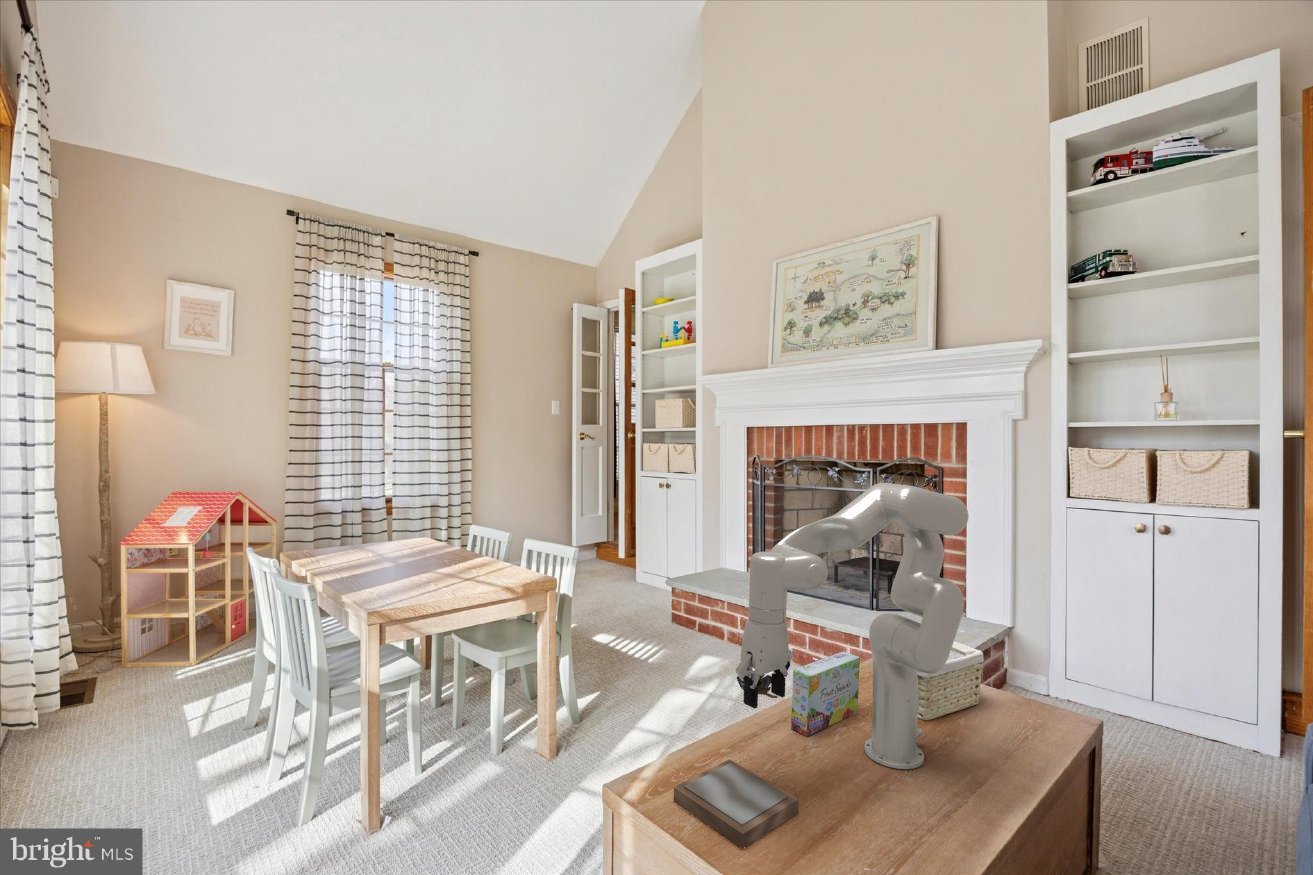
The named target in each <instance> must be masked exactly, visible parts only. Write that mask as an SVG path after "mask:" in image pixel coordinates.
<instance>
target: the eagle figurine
mask: <svg viewBox="0 0 1313 875" xmlns="http://www.w3.org/2000/svg"><path fill="white" fill-rule="evenodd" d="M753 677H754V675H753V674H751V675H750V679H751V680H752V679H753ZM771 678H772V675H769V674H763V675H760V677H759V680H758V683H757V685H756V688H758V696H759V695H763V696H765V697H766V696H767V697H768V698H771V699H778V697H779V696H778V695H775V694H771V693H768V692H771ZM736 681H737V683H738V685H739V687H740V688H741V690H742V691H744V685H743V684H742V682H741V681H740V679H739V677H738V675H737V676H736Z"/></svg>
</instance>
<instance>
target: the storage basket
mask: <svg viewBox="0 0 1313 875" xmlns="http://www.w3.org/2000/svg"><path fill="white" fill-rule="evenodd" d="M951 651H952V652H955V653H957V654H959V655H963V656H961V657H957V658H952V657H948V659H947V661H946V663H945V665H944V666H943V667H942V669H940V670H939V671H938V672H936V673H933V674H927V673H923V672H920V671H918V670H916V672H917V676H918V713H917V719H920V720H923V721H929V720H933V719H936V718H939V717H942V716H946V715H947V714H952V713H954V712H957V711H961V710H964V709H967V708H969V707H973V706H975V705H979V703H980V696H981V695H980V694H981V683H982V674H983V668H984V660H985V658H984V653H983V651H982V650H980V649H976V648H973V647H971V646H968V645H967V644H964V643H960V642H957V641H955V640H954V642H953V645H952V648H951Z"/></svg>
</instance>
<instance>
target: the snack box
mask: <svg viewBox="0 0 1313 875" xmlns="http://www.w3.org/2000/svg"><path fill="white" fill-rule="evenodd" d="M860 661H861V657H860V656H857V655H854V654H852V653H849V652H847V651H841V652H838V653H835V654H832V655H829V656H827V657H824V658H821V659H819V660H816V661H813V662H811V663H808V664H805V665H802V666H800V667H797V668H794V669H793V672H792V673H793V674H792V694H791V695H792V697H791V698H792V699H791V720H790V721H791V722H790V723H791V725H790V729H791V730H794V731H796V732H797V733H799V734H801V735H803V736H804V737H809V736H812V735H813V734H816V733H818V732H821V731H822V730H824V729H826V728H828V727H831V726H833V725H835V724H837V723H839V722H841V721H843V719H844V720H845V719H848V718H849V717H850V718H851V717H852V716H854V715H856V714H858V712H859V689H860V687H859V685H860V663H861V662H860Z"/></svg>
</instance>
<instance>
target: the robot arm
mask: <svg viewBox="0 0 1313 875" xmlns="http://www.w3.org/2000/svg"><path fill="white" fill-rule="evenodd" d="M968 522H969V510H968V508H967V506H966V504H965V503H964V502H963V501H962V500H961V499H959V498H958V497H956V496H952V495H949V494H944V493H940V492H936V491H932V490H930V489H929V490H928V489H925V488H921V487H918V486H914V485H908V484H907V485H906V484H899V483H891V482H879V483H875V484H873V485H872V486H869V488H868V489H866V490H865V491H864V492H862V493H861V494H860V495H859V496H857V497H856V498H854V500H852V501H851V502H849V503H847V505H845V506H844V507H842V509H840V510H839V511H838V512H836V513H834V514H833V515H830V516H828V517H824V518H822V519H819V520H816V521H814V522H811V523H808V524H806V525H804V526H801V527H799V528H797V529H795V530H794V531H792V532H790V533H789V534H788V535H786V536H785V537H784V538H782V539H781V540H780V541H778V542H777V543H776V544H775V545H773V547H772V548H771V549H770V550H769V551H759V552H758V551H757V552H754V553H752V555H751V557H750V563H749V586H748V587H749V590H748V592H749V593H748V617H747V618H748V619H747V620H746V621H745V625H744V630H743V633H742V642H741V650H740V661H739V662H740V663H739V664H738V665H737V667H736V668H735V673H736V675H737V676H738V677H739V679H740V681H741V682H742V684H743V685H744V690H743V704H744V705H746V706H747V707H751V708H752V709H754V710H755V709H758V704H759V703H758V702H759V700H758V699H759V695H758V688H756V685H757V683H758V680H759V677H760V675H763V674H765V675H767V674H768V673H771V677H772V678H771V684H770V687H771V688H770V692H771V693H772V695H775V696H778V697H780V698H784V697H785V696H786V678H787V677H788V676H789V675H788V673H789V672H788V671H789V668H790V666H791V662H792V660H793V657H794V655H795V654H794V651H792V650H791V649H790V648H789V633H788V632H789V630H788V622H787V604H788V603H787V602H788V590H797V591H799V590H800V591H813V590H817V589H819V588H820V587H822V586H823V585H824V584H825V583H826V581H827V579H828V575H829V570H828V566H827V564H826V562H825V561H824V560H823V559H822V558H821V557H820V556H818V555H819V554H822V553H826V552H827V553H828V552H835V551H839V552H840V551H848V550H854V549H857V548H860V547H862V546H864V545H865V544H866V543H867V542H869V540H871V539H872V538H873V537H874V536H876V535H877V534H878V533H879V532H881V531H882V530H883V529H885V527H887V526H888V525H889V524H898V525H900V527H901V528H902V532H903V534H904V541H905V543H904V549H903V554H902V555H901V556H902V557H901V559H900V562H899V565H898V568H897V571H896V574H895V576H894V580H893V582H892V586H891V591H890V599H891V601H892V603H893V604H894V605H895V606H896V607H897V608H899V609H900V610H903V611H904V612H907V613H910V614H913V615H915V616H918V617H920V618H921V620H920V622H918V621H916V620H913V619H911V618H908V617H906V616H903V615H900V614H896V613H890V612H889V613H888V612H887V613H882V614H880V615H878V616H876V617H875V618H874V619H873V620H872V622H871V624H870V627H869V630H868V631H869V632H868V634H869V635H868V639H869V646H870V649H871V650H870V651H871V656H872V703H871V704H872V710H871V712H872V713H871V714H872V715H871V737H870V738H868V739H866V741H865V742H864V752H865V754H866V755H867V756H868V757H869V758H870V759H871V760H873V762H875V763H878V764H880V765H883V766H885V767H888V768H892V769H898V770H913V769H916V768H919V767H920V766H922V765H924V762H925V755H924V752H923V750H922V749H921V748H920V747H919V746H918V744H917V743H918V739H919V738H920V737H921V736H923V735H924V731H923V729H922V728H921V727H918V718H917V713H918V676H917V672H916V670H918V671H920V672H923V673H927V674H933V673H936V672H938V671H939V670H940V669H942V667H943V666H944V665H945V663H946V661H947V659H948V657H949V656H950V653H951V651H952V650H951V648H952V645H953V642H954V641H955V638H956V636H957V632H958V630H959V627H960V623H961V621H962V618H963V614H964V608H965V599H964V594H963V592H962V590H961V588H960V587H959V586H958V585H957V584H956V583H955V582H953V581H952V580H951V579H950V580H949V579H946V578H943V577H940V574H941V570H942V567H943V563H944V559H945V549H944V543H943V541H942V539H941V536H940V535H944V536H955V535H957V534H959V533H961V532H962V531H964V529H965V528H966V526H967V524H968ZM753 669H754V670H753ZM772 672H773V673H772ZM751 674H753V675H754V677H753V679H752V680H751V679H750V675H751Z"/></svg>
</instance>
